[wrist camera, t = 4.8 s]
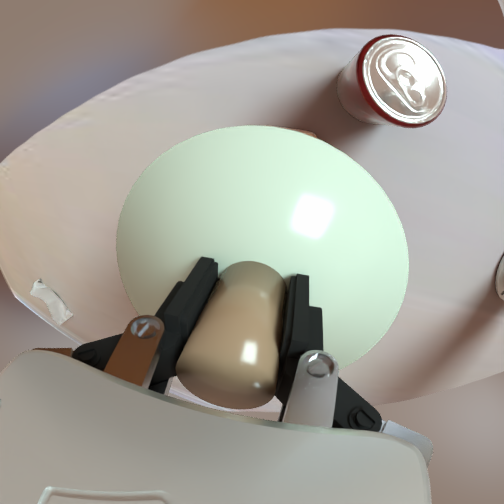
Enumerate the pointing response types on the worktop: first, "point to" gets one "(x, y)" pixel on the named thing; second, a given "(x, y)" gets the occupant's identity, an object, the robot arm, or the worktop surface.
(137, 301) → the lid
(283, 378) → the robot arm
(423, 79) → the soda can
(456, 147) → the worktop surface
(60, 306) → the fabric
